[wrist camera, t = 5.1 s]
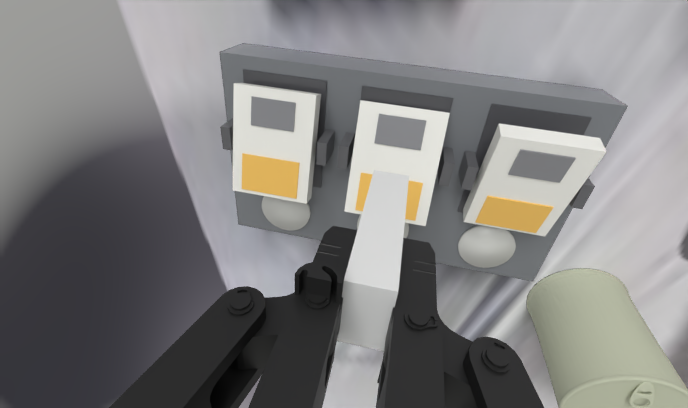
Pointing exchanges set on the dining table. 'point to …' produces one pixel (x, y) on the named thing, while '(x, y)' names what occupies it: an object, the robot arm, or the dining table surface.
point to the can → (600, 345)
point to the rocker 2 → (530, 178)
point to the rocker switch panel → (456, 157)
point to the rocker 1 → (274, 141)
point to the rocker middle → (397, 153)
